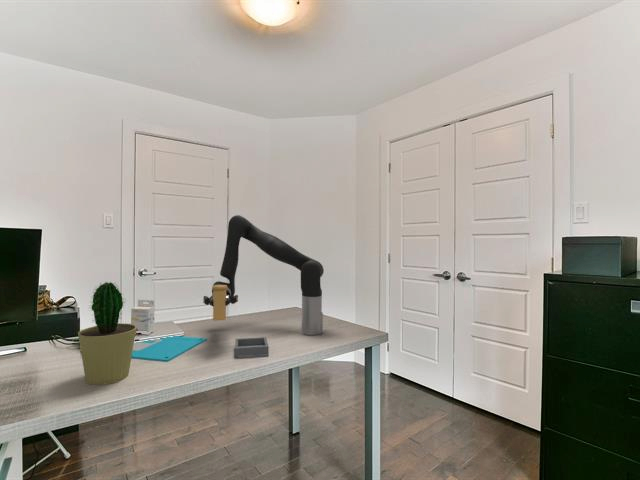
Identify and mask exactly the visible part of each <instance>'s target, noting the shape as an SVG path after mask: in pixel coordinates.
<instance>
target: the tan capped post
mask: <svg viewBox="0 0 640 480" xmlns="http://www.w3.org/2000/svg"><path fill="white" fill-rule="evenodd" d="M212 287H213V306H212V310H213V311H212V316H213V317H212V321H214V322H218V321H226V319H227V306H226V290H227V285H212Z"/></svg>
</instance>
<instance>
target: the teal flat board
mask: <svg viewBox="0 0 640 480" xmlns="http://www.w3.org/2000/svg"><path fill="white" fill-rule="evenodd" d="M172 336H173V337H166V338H160V339H154V340H148V341H144V342H136V343H134V345H133V351H132V357H131V359H135V360H136V359H137V360H146V361H156V362H170V361H172V360H174V359H176V358H177V357H179V356H181V355H183V354H184V353H186V352H188V351H190V350H192V349H194V348H195V347H197V346H199V345H200V344H202V343H204V342H207V341H208V338H206V337H194V336H193V337H192V336H180V335H179V336H178V335H172Z"/></svg>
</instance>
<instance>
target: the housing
mask: <svg viewBox="0 0 640 480" xmlns="http://www.w3.org/2000/svg"><path fill="white" fill-rule="evenodd" d="M234 341H235V345H234V346H235V347H234V359H242V358H257V357H269V353H270V351H269V349H270V348H269V343H268V340H267V336H262V337H261V336H260V337H259V336H258V337H247V338H246V337H245V338H241V337H240V338H235V340H234Z"/></svg>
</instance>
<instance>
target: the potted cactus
mask: <svg viewBox="0 0 640 480" xmlns="http://www.w3.org/2000/svg"><path fill="white" fill-rule="evenodd" d="M117 287H118V283H116V282H112V281H109V282H108V281H104V282H103V284H102V283H101V282H100V283H99V285H97V286H96V287H95V288H93V291H94V292H92V294H93V295H92V297H91V299H92V301H89V302H90V303H91V305H89V307H91V310H89V311H93V319H92V321H91V320H90V321H91V323H95V325H94V326H91V327H87V328H83V329H81V330H80V331H78V332H77V335H78V337H77V338H78V341H79V349H80V355H81V360H82V367H83V373H84V377H85V382H86V384H88V385H92V386H93V385H94V386H98V385H99V386H100V385H101V386H102V385H108V384H112V383H116V382H117V383H118V382H119V381H122V380H124V379H126V378H127V377H128V376H129V374H130V369H131V361H132V358H131V357H132V351H133V345H134V340H136V338H135V337H136V334H135V333H136V328H137V326H136V325H134V324H131V323H126V322H125V323H121V322H119V321H120V320H121V319H122V317H121V316H123V312H122V309H123V308H124V306H125V305H124V303H126V301H127V299H126V298H123V293H122V292H121V291H120V289H119V288H117Z"/></svg>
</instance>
